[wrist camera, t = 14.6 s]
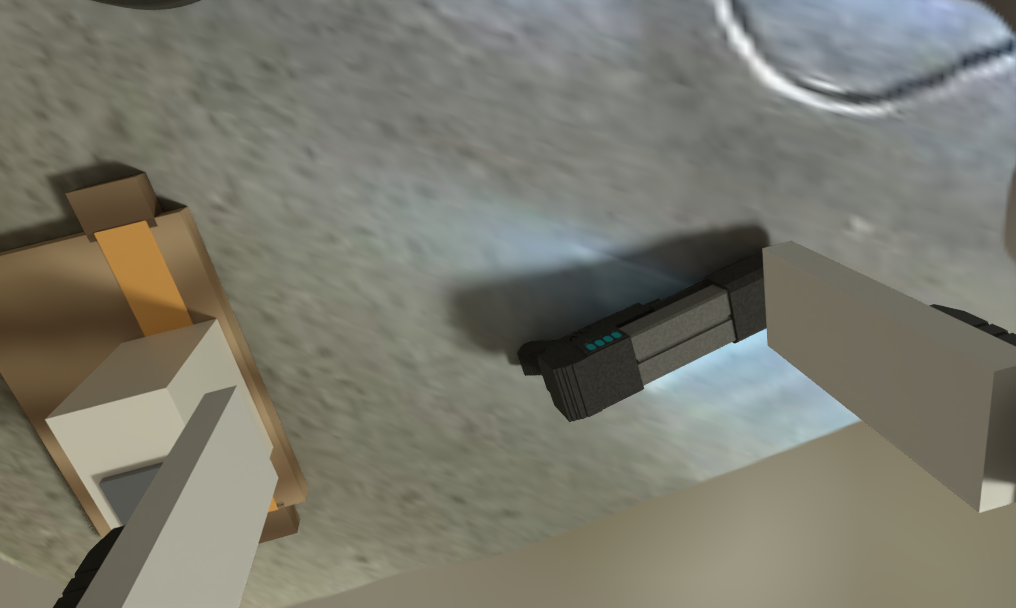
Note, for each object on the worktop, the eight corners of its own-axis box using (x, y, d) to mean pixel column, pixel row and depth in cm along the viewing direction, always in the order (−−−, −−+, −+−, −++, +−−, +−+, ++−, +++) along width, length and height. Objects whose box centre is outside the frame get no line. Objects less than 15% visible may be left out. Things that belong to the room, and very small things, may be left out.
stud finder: (121, 342, 39) (39, 424, 30) (216, 318, 39) (162, 392, 31) (187, 470, 43) (130, 575, 34) (273, 447, 43) (239, 545, 35)
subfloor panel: (-69, 223, 36) (-89, 230, 35) (170, 166, 37) (160, 170, 36) (136, 564, 47) (127, 581, 45) (319, 513, 48) (316, 528, 46)
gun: (502, 336, 44) (580, 384, 36) (707, 226, 51) (814, 244, 42) (520, 388, 46) (599, 445, 37) (716, 276, 53) (821, 302, 44)
